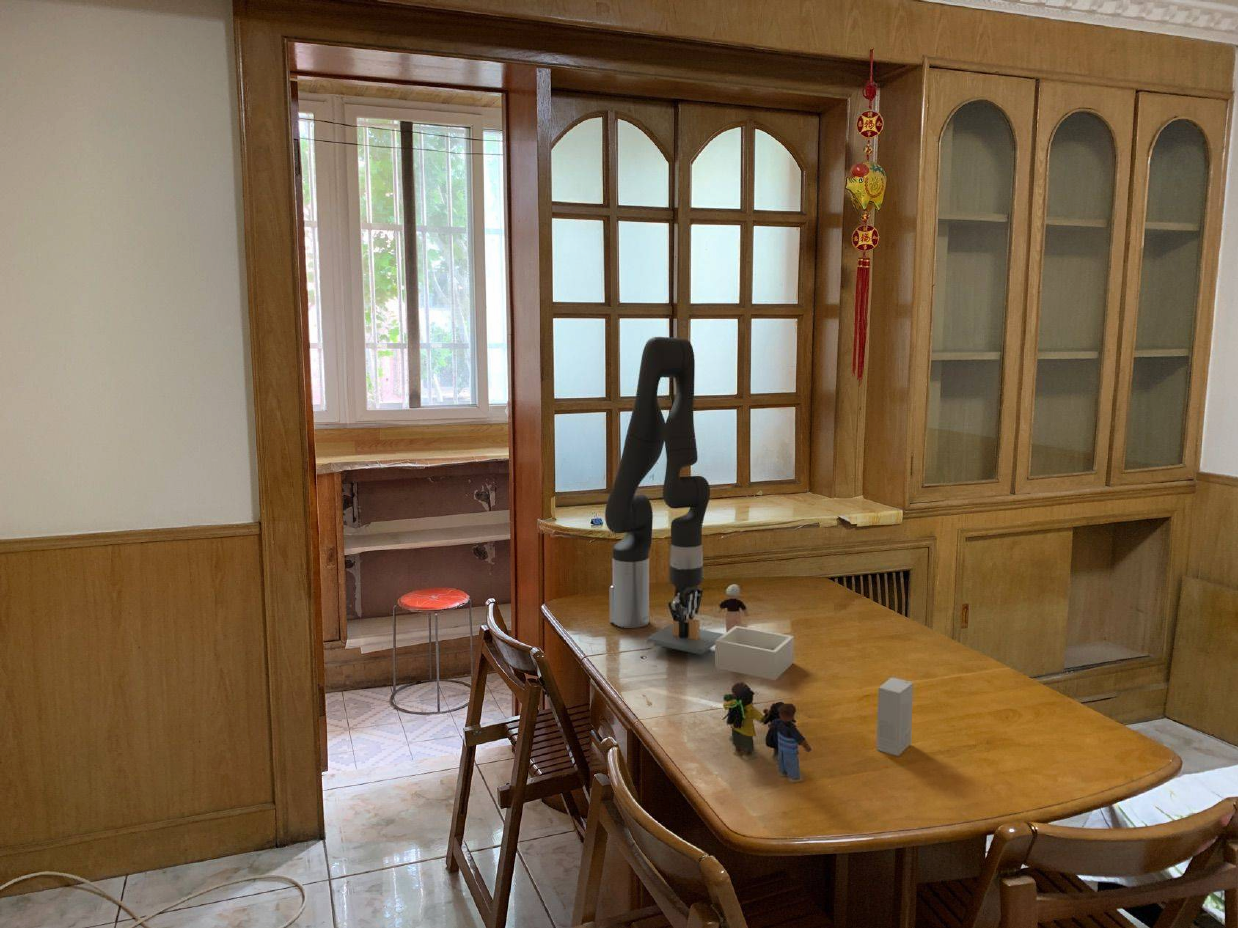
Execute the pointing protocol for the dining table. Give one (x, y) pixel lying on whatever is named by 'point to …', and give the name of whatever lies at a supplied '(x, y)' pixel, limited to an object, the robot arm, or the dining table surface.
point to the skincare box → (894, 716)
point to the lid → (693, 643)
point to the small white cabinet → (754, 652)
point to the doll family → (778, 736)
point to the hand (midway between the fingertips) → (685, 635)
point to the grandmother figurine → (733, 608)
